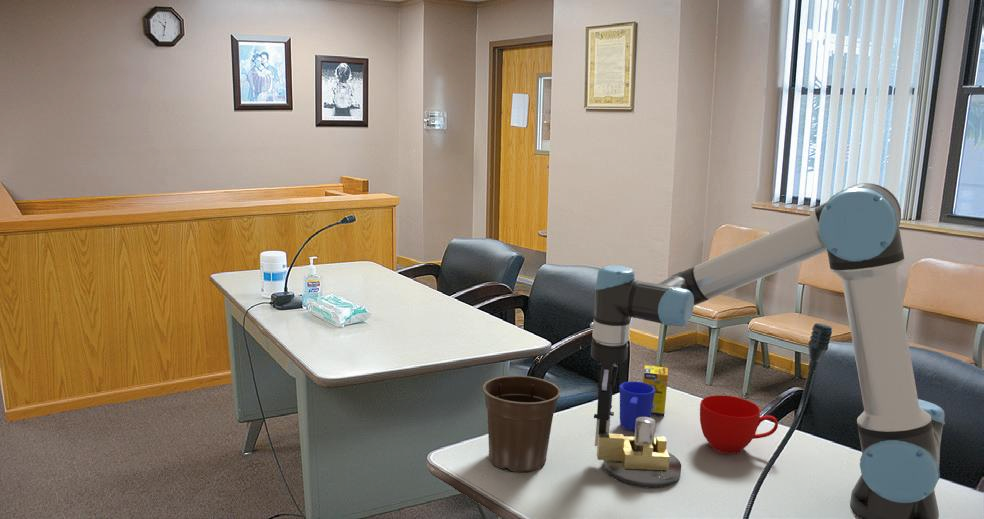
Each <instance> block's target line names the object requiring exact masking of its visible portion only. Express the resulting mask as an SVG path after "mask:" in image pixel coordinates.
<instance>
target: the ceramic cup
mask: <svg viewBox="0 0 984 519" xmlns="http://www.w3.org/2000/svg"><path fill="white" fill-rule="evenodd" d="M765 420H771V421H773V423H774V426H773V427H772V428H771V430H769V431H766V432H763V433H762V432H761V433H756V432H757V429H758V427H759V426H760V424H761V423H762V422H764V421H765ZM699 422H700V428H701V431H702V434H703V437H704V438H705V440H706V441H707V442H708V444H709V445H710V448H712V449H713V450H715V451H717V452H720V453H722V454H731V455H732V454H738V453H740V452H741V451H742V450H744V449H745V448H746V447H748V445H750V443H751V442H752V440H754V439H762V438H766V437H769V436H771V435H773V434H774V433H775V432H776V431H777V429H778V428H779V422H778V420H777V418H776V417H774V416H773V415H762V416H761V408H760V407H759V406H758V405H757V404H756V403H754V402H752V401H749V400H747V399H744V398H741V397H737V396H731V395H722V394H721V395H720V394H718V395H709V396H706V397H704V398H702V399H701V401H700V403H699Z"/></svg>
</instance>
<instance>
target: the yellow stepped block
mask: <svg viewBox="0 0 984 519" xmlns="http://www.w3.org/2000/svg"><path fill="white" fill-rule="evenodd" d="M634 438H635V436H627V435H626V436H624V434H623V433H610V431H609V432H600V433H598V443H597V446H596V457H597V458H596V459H597V460H598V461H604V460H613V461H622V463H623V466H624V468H626V469H648V470H668V468H669V458H670V457H669V454H668V452H669V451H668V450H667V439H666V437H665V436H656V437H654V445H653V446H652V444H642V446H641V452H637V451H633V450H634Z"/></svg>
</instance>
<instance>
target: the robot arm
mask: <svg viewBox="0 0 984 519" xmlns="http://www.w3.org/2000/svg"><path fill="white" fill-rule="evenodd" d="M901 220H902V210H901V204H900V203H899V201H898V199H897V197H896V196H895V195H894V194H893V192H891V191H890V190H889V189H887V188H886V187H884V186H881V185H879V184H876V183H870V182H864V183H857V184H853V185H851V186H849V187H847V188H845V189H842V190H840V191H838V192H836V193H835V194H834V195H832V196H831V197H830V198H829V199H828V200H827V201H826V202H825V203H822V204H820V205H818V206H816V207H814V208H813V209H812V212H811V214H810V215H809V216H806V217H804V218H802V219H800V220H797V221H794V222H792V223H790V224H788V225H785V226H783V227H781V228H779V229H777V230H774V231H772V232H770V233H767V234H765V235H763V236H760V237H758V238H756V239H754V240H751V241H749V242H747V243H745V244H742V245H740V246H737V247H735V248H733V249H730V250H729V251H726V252H724V253H721V254H720V255H717V256H715V257H712V258H711V259H708V260H706V261H704V262H701V263H698V264H696V265H695V266H693V267H690V268H688V269H685V270H683V271H678V272H676V273H673V274H672V275H671V276H669V277H668V278H666V279H665V280H663V281H660V282H659V283H654V282H653V283H651V282H648V281H647V282H646V281H642V280H641V281H640V280H638V279H636V277H635V270H634V269H633V268H630V267H627V266H622V265H614V264H613V265H610V264H609V265H605V266H602V267H600V268H599V269H598V271H597V275H596V276H597V277H596V283H595V287H594V289H595V294H594V308H593V309H594V310H593V322H590V323H589V327H590V328H592V334H591V335H592V339H591V345H590V346H591V347H590V356H591V358H592V359H593V360H595V361H597V362H600V363H598V367H597V370H596V371H597V372H596V376H597V386H596V387H597V388H598V390H597V406H596V407H597V408H596V410H597V411H596V413H594V415H593V419H596V426H595V438H594V439H595V440H594V447H597V443H598V433H600V432H609V433H610V426H611V416H612V417H614V413H615V411H611V410H612V408H613V405H612V404H613V403H612V402H613V393H614V390H615V385H616V379H617V375H618V370H619V366H618V365H617V364H621V363H624V362H625V361H626V360H627V359H628V352H629V343H628V342H629V341H630V334H631V332H630V331H631V318H635V319H640V320H643V321H648V322H654V323H658V324H662V325H664V326H665V325H666V326H668V327H670V326H674V327H681V328H682V327H685V326H687V325H688V324H689V322H690V320H691V318H692V315H693V311H694V307H695V306H697V305H699V304H700V305H701V304H702V303H704V302H706V301H709V300H711V299H714V298H717V297H718V296H721V295H723V294H725V293H728V292H731V291H733V290H736V289H738V288H741V287H744V286H745V285H748V284H750V283H754V282H756V281H757V280H760V279H763V278H765V277H769V276H770V275H773V274H775V273H778V272H781V271H782V270H785V269H788V268H790V267H793V266H795V265H797V264H800V263H803V262H805V261H807V260H810V259H812V258H815V257H817V256H820V255H823V254H824V253H827V257H828V262H829V263H828V264H829V269H830V271H831V272H833V273H834V274H835V275H836V276H838V277H839V278H840V279H841V282H842V283H841V284H842V287H843V288H842V289H843V294H844V300H845V307H846V310H847V311H846V312H847V318H848V323H849V330H850V336H851V341H852V346H853V351H854V356H855V357H854V358H855V363H856V364H855V365H856V369H857V374H858V381H859V386H860V392H861V398H862V404H863V409H864V410H863V412H861V414H860V415H859V416H858V417H857V419H856V424H857V430H858V437H859V442H860V447H861V457H860V459H859V461H860V462H859V468H860V473H861V475H860V476H859V478H858V480H857V482H856V483H855V485H854V487H853V488H852V491H851V494H850V500H849V505H850V507H851V509H852V510H853V511H854V512H855V513H856V515H858V516H859V517H860V516H861V517H860V518H862V519H863V518H864V519H939V517H940V512H939V511H940V510H939V507H938V506H939V505H938V501H937V496H936V493H935V492H936V491H935V488H936V486H937V484H938V482H939V480H940V477H941V473H940V459H941V458H940V457H941V456H940V455H941V453H940V452H941V441H942V434H943V428H944V425H945V424H946V421H945V411H944V409H942V407H940V406H939V405H937V404H936V403H932V402H929V401H926V400H923V399H920V398H918V393H917V392H918V390H917V386H916V379H915V373H914V368H913V362H912V357H911V351H910V344H909V339H908V338H909V336H908V334H907V333H908V332H907V326H906V321H905V314H904V310H903V304H902V298H901V297H902V296H901V292H900V285H899V279H898V274H897V271H898V269H899V267H900V266H901V265H902V264H903V263H904V262H905V254H904V248H903V242H902V237H901V236H902V235H901V231H900V224H901Z"/></svg>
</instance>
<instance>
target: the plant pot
mask: <svg viewBox="0 0 984 519" xmlns="http://www.w3.org/2000/svg"><path fill="white" fill-rule="evenodd" d="M482 391H483V393H484V396H485V397H484V398H485V407H486V410H487V411H486V412H487V429H488V430H487V431H488V434H487V435H488V436H487V437H488V458H489V460H490V462H491V463H492V464H493V465H494V466H496V467H497V468H499V469H502V470H505V469H509V470H510V471H511V472H517V473H519V472H520V473H521V472H522V473H524V472H525V473H527V472H532V471H535V470H539V469H540V468H543V466H544V464H545V463H546V462H547V455H548V450H549V449H548V448H549V443H550V435H551V430H552V425H553V424H552V423H553V419H554V413H555V412H556V408H557V403H558V400H559V398H560V396H561V393H562V392H561V389H560V388H559V386H558V385H556V384H554V383H553V382H550V381H548V380H546V379H542V378H538V377H534V376H528V375H527V376H525V375H505V376H498V377H494V378H491V379H489V380H486V382H484V384H483V386H482Z"/></svg>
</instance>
